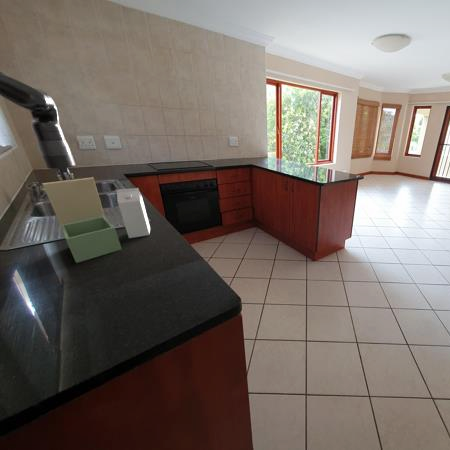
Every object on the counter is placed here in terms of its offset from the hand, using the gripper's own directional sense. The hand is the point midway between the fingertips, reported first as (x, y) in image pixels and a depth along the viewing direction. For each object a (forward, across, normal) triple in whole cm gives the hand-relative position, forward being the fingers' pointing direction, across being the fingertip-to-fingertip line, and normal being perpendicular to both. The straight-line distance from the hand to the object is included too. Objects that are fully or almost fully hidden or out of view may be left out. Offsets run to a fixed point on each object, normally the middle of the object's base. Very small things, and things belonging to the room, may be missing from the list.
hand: (75, 201), depth 89 cm
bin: (+15, -14, 0) cm, 20 cm away
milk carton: (+15, -11, -15) cm, 24 cm away
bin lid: (-2, -9, 0) cm, 9 cm away
